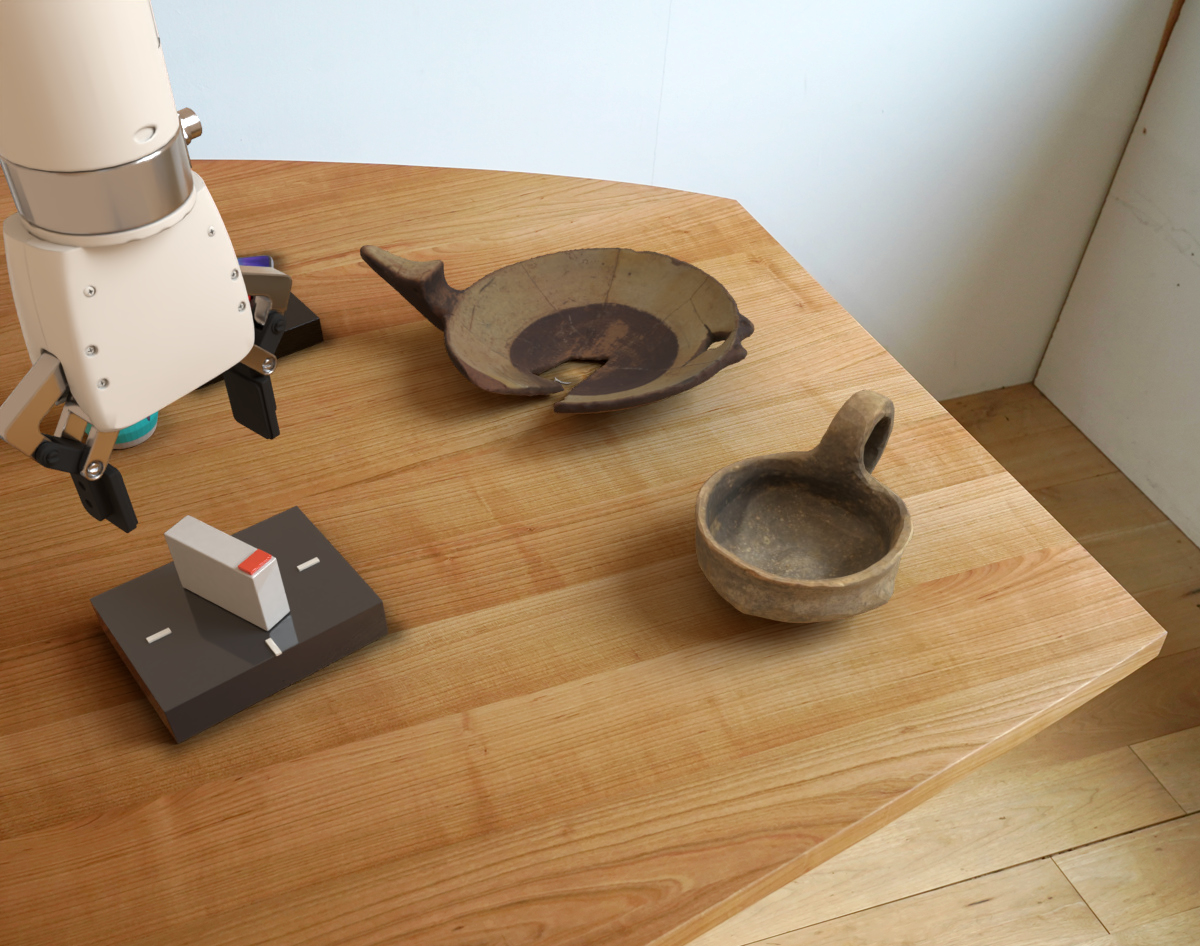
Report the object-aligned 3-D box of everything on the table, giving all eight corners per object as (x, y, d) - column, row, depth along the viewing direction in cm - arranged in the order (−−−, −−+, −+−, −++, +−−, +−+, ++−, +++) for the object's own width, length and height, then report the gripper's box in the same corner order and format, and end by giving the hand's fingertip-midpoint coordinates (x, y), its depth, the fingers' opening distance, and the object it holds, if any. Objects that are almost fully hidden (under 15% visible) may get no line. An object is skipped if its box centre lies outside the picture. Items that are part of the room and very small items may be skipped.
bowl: (643, 595, 75) (650, 477, 67) (780, 458, 84) (799, 343, 77) (830, 695, 69) (859, 578, 62) (954, 537, 79) (992, 420, 72)
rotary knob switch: (178, 745, 66) (164, 711, 64) (103, 630, 72) (87, 595, 70) (389, 634, 72) (383, 600, 70) (304, 537, 78) (295, 502, 76)
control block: (198, 389, 89) (185, 345, 86) (150, 337, 94) (137, 294, 91) (324, 341, 94) (316, 298, 91) (273, 293, 99) (263, 251, 96)
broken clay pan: (638, 502, 81) (643, 414, 75) (333, 354, 93) (317, 268, 87) (795, 356, 93) (809, 271, 88) (508, 242, 105) (504, 161, 100)
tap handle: (181, 587, 70) (161, 530, 67) (205, 567, 72) (186, 510, 68) (268, 632, 68) (251, 575, 64) (291, 611, 69) (275, 554, 66)
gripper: (200, 85, 57) (263, 373, 69) (-136, 221, 47) (7, 527, 59) (307, 131, 54) (353, 422, 66) (-28, 286, 44) (99, 593, 56)
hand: (189, 472), depth 63 cm, fingers open, 9 cm apart
